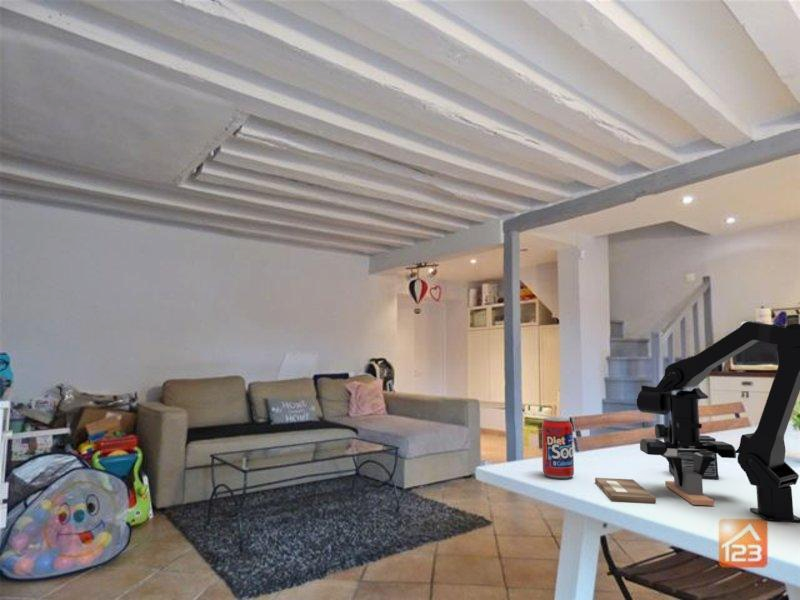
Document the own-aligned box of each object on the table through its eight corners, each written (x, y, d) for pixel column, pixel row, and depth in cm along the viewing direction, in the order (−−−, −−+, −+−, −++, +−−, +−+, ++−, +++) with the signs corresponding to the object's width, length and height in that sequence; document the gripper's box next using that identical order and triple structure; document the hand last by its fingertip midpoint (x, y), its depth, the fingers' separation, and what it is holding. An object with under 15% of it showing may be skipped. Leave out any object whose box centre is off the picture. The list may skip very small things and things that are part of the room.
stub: (714, 505, 106) (712, 480, 106) (692, 504, 106) (691, 479, 107) (683, 485, 121) (682, 464, 122) (665, 485, 122) (664, 463, 122)
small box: (711, 474, 135) (709, 434, 136) (719, 480, 128) (717, 438, 129) (668, 471, 137) (666, 432, 139) (674, 477, 131) (672, 436, 132)
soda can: (555, 471, 136) (553, 415, 138) (580, 477, 130) (578, 419, 131) (536, 475, 132) (535, 417, 133) (561, 481, 125) (560, 421, 127)
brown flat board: (655, 503, 107) (655, 497, 108) (612, 501, 109) (611, 495, 109) (633, 484, 123) (633, 479, 123) (595, 482, 124) (595, 477, 125)
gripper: (711, 414, 122) (715, 479, 120) (631, 412, 125) (634, 476, 123) (735, 420, 111) (739, 492, 109) (646, 417, 114) (649, 488, 112)
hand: (688, 486), depth 114 cm, fingers closed on stub, 3 cm apart
